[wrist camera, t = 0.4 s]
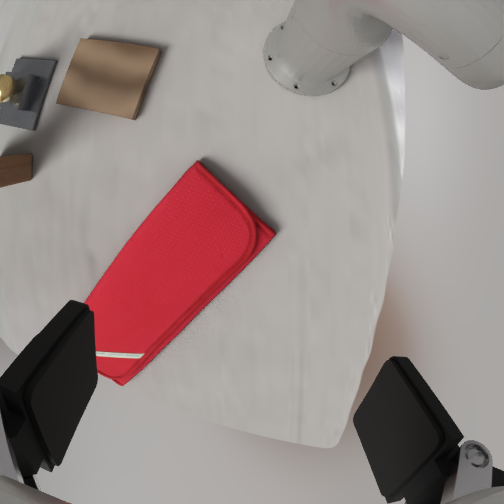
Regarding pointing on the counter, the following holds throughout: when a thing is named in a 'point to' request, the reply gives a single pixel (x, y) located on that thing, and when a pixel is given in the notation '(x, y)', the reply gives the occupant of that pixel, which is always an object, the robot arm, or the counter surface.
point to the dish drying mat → (171, 271)
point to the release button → (6, 87)
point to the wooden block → (15, 169)
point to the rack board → (108, 77)
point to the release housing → (27, 92)
